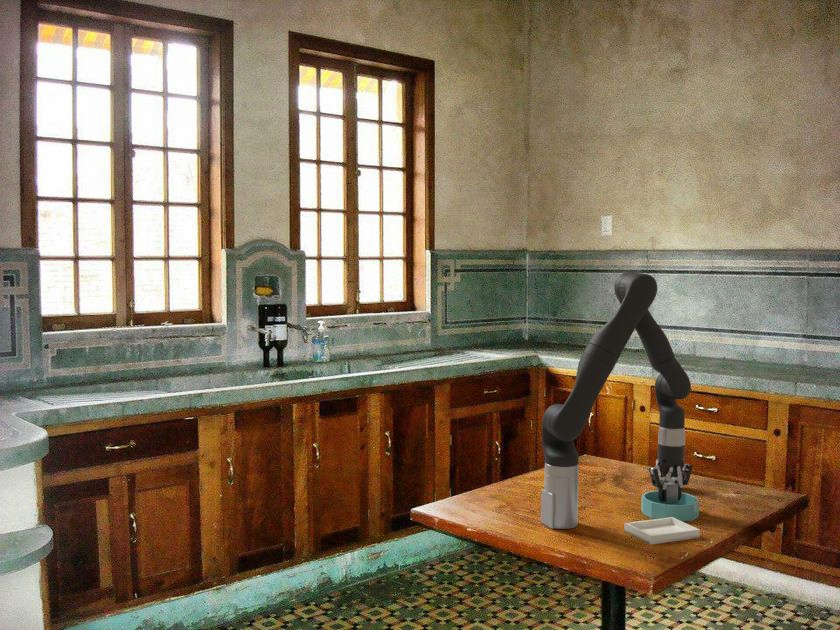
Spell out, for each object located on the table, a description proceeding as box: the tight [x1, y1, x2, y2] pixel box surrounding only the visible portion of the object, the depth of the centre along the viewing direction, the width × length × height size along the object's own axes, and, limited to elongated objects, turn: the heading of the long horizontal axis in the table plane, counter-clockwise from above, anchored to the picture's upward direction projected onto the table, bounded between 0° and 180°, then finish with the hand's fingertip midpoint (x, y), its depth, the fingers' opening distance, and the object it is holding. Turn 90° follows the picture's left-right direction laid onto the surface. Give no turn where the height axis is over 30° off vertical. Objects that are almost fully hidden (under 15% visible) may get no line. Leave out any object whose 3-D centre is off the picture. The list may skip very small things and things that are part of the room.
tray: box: [623, 517, 701, 545], centre depth 231 cm, size 16×12×2 cm
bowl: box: [640, 489, 700, 522], centre depth 250 cm, size 16×16×4 cm
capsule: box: [664, 482, 678, 504], centre depth 250 cm, size 4×4×5 cm
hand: (669, 500), depth 250 cm, fingers closed on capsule, 4 cm apart
